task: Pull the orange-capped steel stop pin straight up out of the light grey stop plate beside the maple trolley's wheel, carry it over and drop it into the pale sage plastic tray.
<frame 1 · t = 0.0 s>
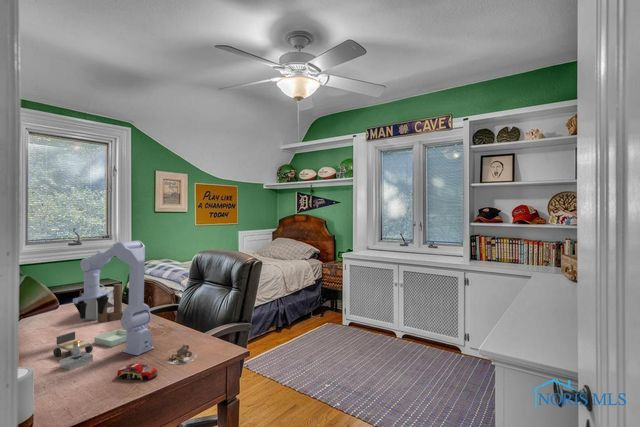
hand: (91, 316, 151), 10 cm above the table, fingers open, 7 cm apart
ramp trolley: (73, 353, 136), on the table
tray: (115, 340, 150), on the table
stop pin: (76, 352, 127), in the stop plate
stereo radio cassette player: (98, 315, 185), on the table
frog figurine: (181, 359, 133), on the table
wooden block: (110, 320, 177), on the table
race car: (137, 377, 118), on the table
stop plate: (76, 364, 127), on the table
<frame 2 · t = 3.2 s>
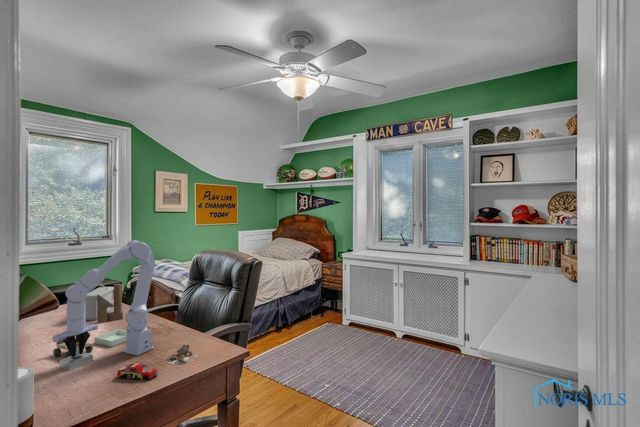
hand: (76, 354, 127), 3 cm above the table, fingers closed on stop pin, 2 cm apart
stop pin: (76, 352, 127), in the stop plate, touching gripper
everything else where it was.
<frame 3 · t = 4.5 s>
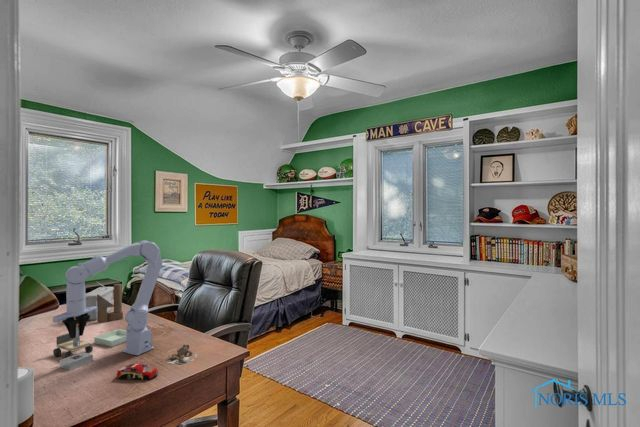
hand: (76, 336, 127), 10 cm above the table, fingers closed on stop pin, 2 cm apart
stop pin: (76, 334, 127), point 11 cm above the table, touching gripper
everything else where it was.
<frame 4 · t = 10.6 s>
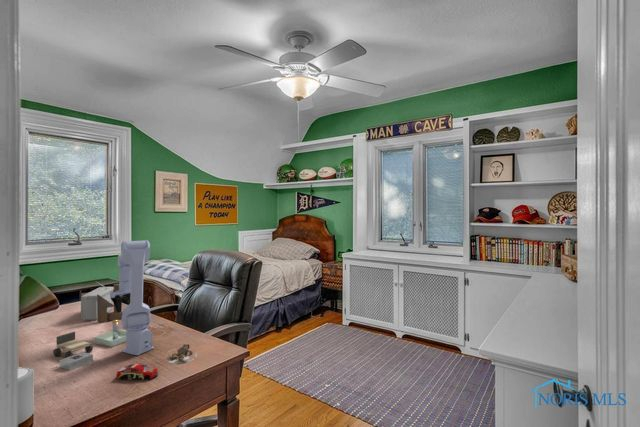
hand: (126, 309, 160), 10 cm above the table, fingers open, 7 cm apart
stop pin: (115, 329, 149), in the tray
everything else where it was.
at the end: stop pin inside the target area on the tray (0.0 cm from its centre), point 4.7 cm above the tray's base; the gripper is holding nothing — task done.
